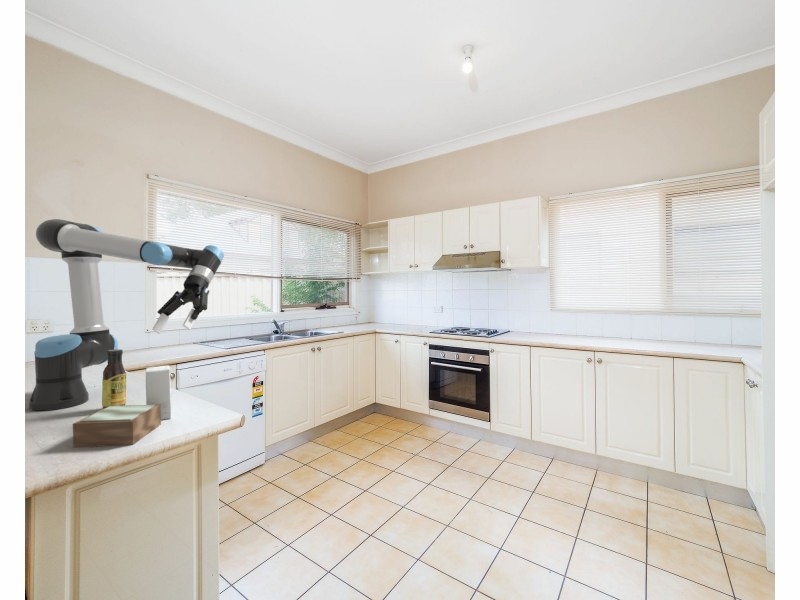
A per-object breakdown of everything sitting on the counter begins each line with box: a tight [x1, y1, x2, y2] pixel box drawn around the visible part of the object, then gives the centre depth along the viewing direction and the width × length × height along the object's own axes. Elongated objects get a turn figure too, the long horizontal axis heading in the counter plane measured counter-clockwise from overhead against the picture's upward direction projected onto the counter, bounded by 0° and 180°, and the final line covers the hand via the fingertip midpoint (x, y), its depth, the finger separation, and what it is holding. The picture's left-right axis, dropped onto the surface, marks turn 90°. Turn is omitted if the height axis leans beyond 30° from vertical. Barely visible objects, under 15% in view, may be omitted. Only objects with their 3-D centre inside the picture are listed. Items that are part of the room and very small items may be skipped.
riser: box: [72, 404, 162, 448], centre depth 100 cm, size 14×14×6 cm
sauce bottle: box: [101, 348, 127, 410], centre depth 121 cm, size 7×6×20 cm
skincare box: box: [145, 365, 172, 421], centre depth 114 cm, size 8×7×16 cm
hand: (170, 329), depth 120 cm, fingers open, 13 cm apart
